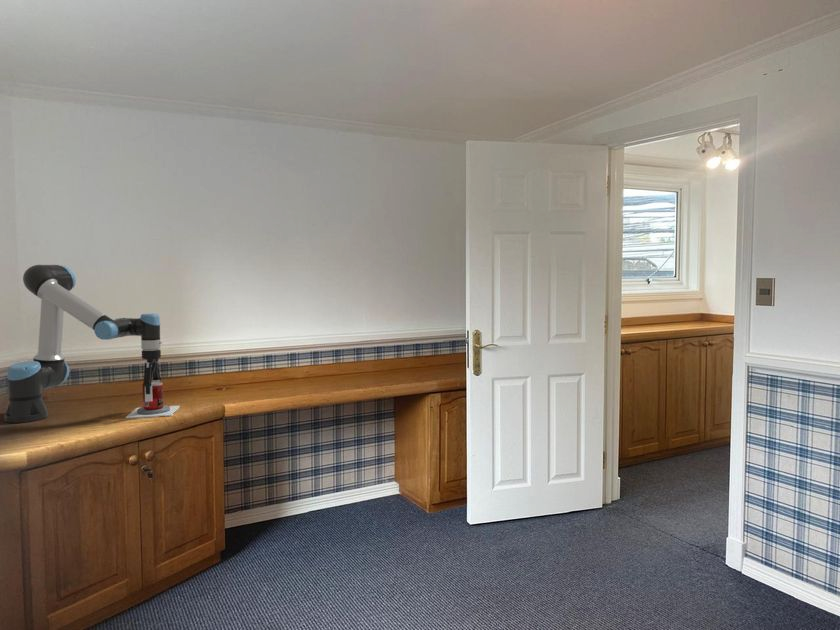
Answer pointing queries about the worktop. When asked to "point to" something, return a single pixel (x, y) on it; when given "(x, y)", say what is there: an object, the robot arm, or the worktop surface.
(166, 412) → the white square plate
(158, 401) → the canned food
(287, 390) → the worktop surface
